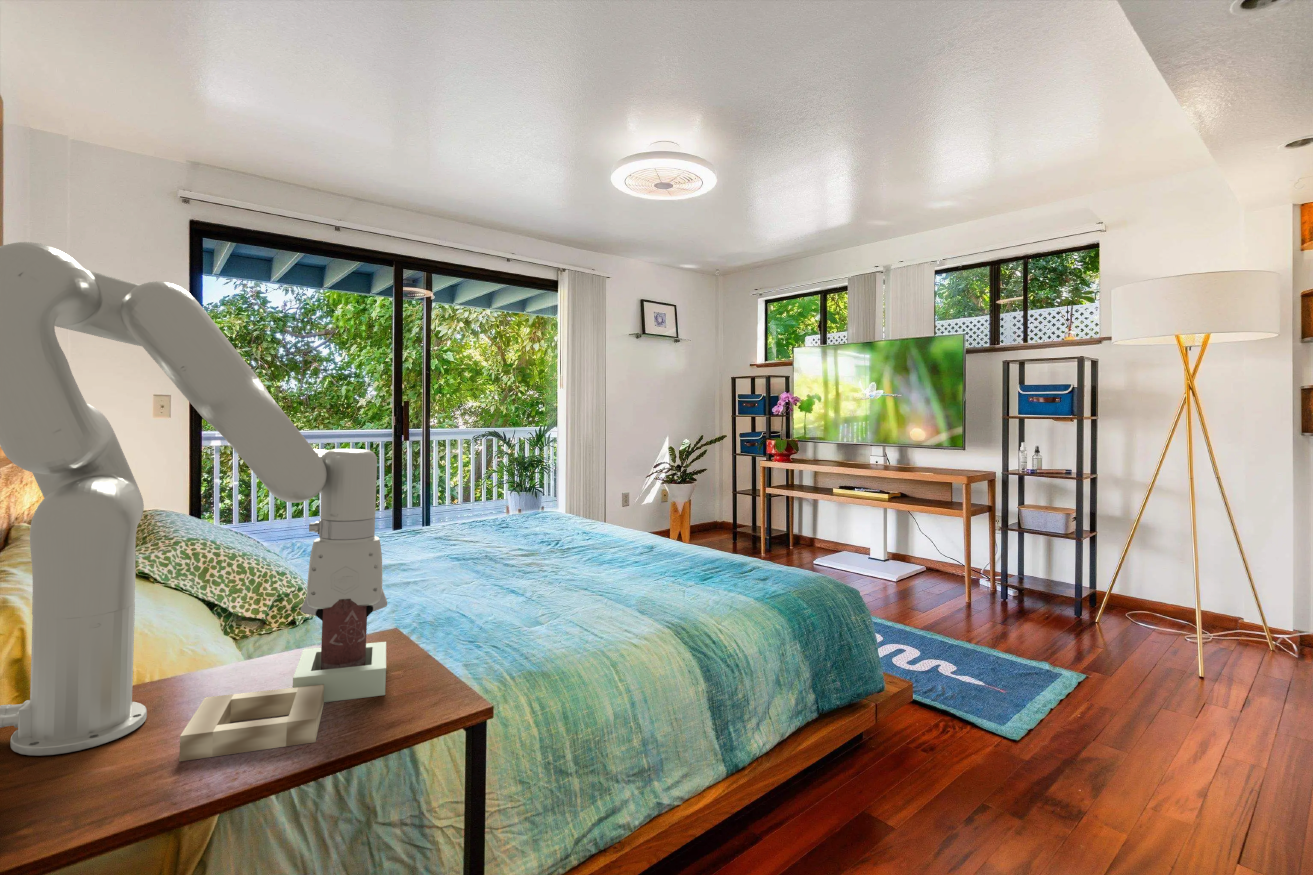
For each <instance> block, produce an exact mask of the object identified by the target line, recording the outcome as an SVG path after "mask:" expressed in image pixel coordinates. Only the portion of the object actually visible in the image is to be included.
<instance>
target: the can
mask: <svg viewBox="0 0 1313 875" xmlns="http://www.w3.org/2000/svg"><path fill="white" fill-rule="evenodd" d="M366 611H367V606H358V605H357V604H356V603H355V602H353V601H352V600H351V599H339V601H337V602H336V603H335V604H334V605H333V606H332V607H330V608H326V609H323V621H322V620H321V621H322V622H321V644H320V645H321V646H320V648H321V670H326V669H335V668H345V667H355V666H365V662H366V643H367V634H368V633H367V631H368V629H367V627H368V616H367V617H366V614H367V612H366Z"/></svg>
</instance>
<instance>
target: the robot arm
mask: <svg viewBox="0 0 1313 875" xmlns="http://www.w3.org/2000/svg"><path fill="white" fill-rule="evenodd" d="M55 327H56V328H60V329H66V330H69V331H73V332H78V333H81V334H86V335H91V336H95V337H99V338H103V339H108V340H112V341H115V342H120V343H124V344H128V345H133V346H139V347H142V348H143V349H144V350H145V352H147V355H149V356H150V358H152V360H153V361H154V362H155V363H156V365H158V366H159V368H160V369H161V370H162V371H163V372H164V374H165V375H166V376H167V377H168V378H169V380H171V382H172V383H173V384H174V385H175V387H176V388H177V389H178V390H179V391H180V392H181V394H182V395H183V396H184V398H186V401H188V402H189V403H190V405H192V407H193V408H194V409H195V410H196V411H197V413H198V414H199V415H200V416H201V417H202V419H204V420H205V421H206V423H208V424H209V425H211V426H212V427H213V428H214V429H215V430H216V431H217V432H218V433H219V434H220V435H221V437H222V438H224V439H225V440H226V442H227V443H228V444H229V445H230V447H231V448H232V449H233V451H235V452H236V453H237V455H238V456H239V457H240V458H241V459H242V460H243V462H244V463H245V464H246V465H247V466H248V468H250V470H251V471H252V473H254V475H255V477H257V478H258V480H259V481H260V482H261V483H262V484H263V485H264V487H265V488H266V490H267V491H269V493H270V494H271V495H272V496H274V497H275V498H277V499H279V500H280V501H283V502H286V503H294V504H295V503H297V504H298V503H303V502H306V501H309V500H311V499H313V498H315V497H316V496H317V495H318V494H320V497H321V498H320V519H319V520H317V521H315V522H309V524H308V532H309V533H311V532H312V533H315V534H317V535H319V536H318V538H315V539H314V540H313V543H312V547H311V551H310V556H309V564H308V572H307V573H308V574H307V581H306V582H307V586H306V596H305V598H304V601H303V603H302V605H301V607H300V613H303V614H307V615H311V616H315V617H317V618H318V619H320V620H321V621H323V609H326V608H330V607H332V606H333V605H334V604H335V603H336V602H337V601H339V599H351V600H352V601H353V602H355V603H356V604H357V605H358V606H367V611H366V612H367V614H366V617H367V618H368V617H369V616H370V615H371V614H372V613H373V612H377V611H379V610H381V609H383V608H385V607H387V606H388V599H387V597H386V594H385V592H384V589H383V552H382V545H381V540H380V537H379V536H376V535H375V531H376V530H375V529H376V505H377V504H376V503H377V500H376V499H377V478H378V476H377V475H378V473H377V472H378V458H377V455H376V454H375V452H374V451H372V450H369V449H364V448H362V449H361V448H335V449H334V448H333V449H328V450H327V449H317V448H313V446H312V445H311V444H310V442H308V440H307V439H306V437H305V436H304V435H303V434H302V433H301V432H300V430H299V429H298V428H297V426H296V425H295V424H294V423H293V421H291V419H290V418H289V416H287V414H286V413H285V412H284V411H283V409H282V408H281V407H280V405H279V404H278V403H277V402H276V400H275V399H274V398H273V396H272V395H271V394H270V392H269V391H268V389H267V388H266V386H265V385H264V383H263V382H262V381H261V379H260V378H259V376H258V375H257V374H256V373H255V372H254V370H253V369H252V368H251V367H250V365H248V363H247V362H246V361H245V359H244V358H243V356H242V355H241V354H240V353H239V352H238V350H237V349H236V348H235V346H233V344H232V343H231V342H230V341H229V339H228V338H227V337H226V336H225V334H224V333H223V332H222V331H221V329H220V328H219V327H218V325H217V324H216V323H215V321H214V320H213V319H212V317H210V315H209V314H208V312H207V311H206V309H204V308H203V306H202V305H201V304H200V302H199V301H198V300H197V299H196V297H194V296H193V295H192V294H191V293H190V292H189V291H187V289H185V288H183V287H182V286H180V285H177V284H175V283H171V282H168V281H149V282H144V283H142V284H139V283H135V282H131V281H126V280H123V279H120V278H116V277H112V276H109V275H105V274H102V273H99V272H96V271H92V270H90V269H86V268H84V267H83V266H82V265H81V264H80V263H79V262H78V261H77V260H76V259H74V258H73V257H72V256H70V255H69V254H68V253H65V252H64V251H62V250H60V249H58V248H55V247H53V246H50V245H46V244H43V243H38V242H31V241H30V242H29V241H20V242H18V241H17V242H13V243H7V244H3V245H0V448H1V450H2V452H3V454H4V455H5V457H6V458H7V459H8V460H9V461H11V463H13V465H15V466H16V467H19V468H20V469H22V470H24V471H27V472H29V473H31V474H32V475H33V477H34V479H35V480H34V481H36V483H37V486H38V487H39V490H40V493H42V496H43V499H42V501H41V502H40V503H39V504H38V506H37V507H36V509H35V511H34V514H33V515H32V519H31V522H30V528H29V546H30V547H29V548H30V559H31V570H32V574H31V575H32V597H31V598H32V606H31V608H32V609H31V611H32V612H31V614H32V620H31V621H32V625H31V626H32V628H31V654H30V655H31V659H30V694H29V699H27V700H25V701H24V702H23V703H19V704H1V705H0V729H1V728H5V727H12V726H13V727H14V728H16V730H15V731H14V732H13V734H12V735H11V737H10V749H11V750H12V751H13V752H14V753H17V754H20V755H26V756H40V757H41V756H54V755H61V754H68V753H73V752H78V751H79V752H80V751H82V750H86V749H91V748H95V747H97V746H101V745H105V744H106V743H107V744H108V743H109V742H112V741H115V740H118V739H119V738H122V737H124V736H126V735H128V734H130V733H132V732H134V731H135V730H137V729H138V728H140V727H141V726H142V725H143V724H144V722H146V720H147V718H148V717H147V716H148V709H147V707H146V706H145V705H144V704H142V703H140V702H136V701H133V682H134V679H133V678H134V675H133V674H134V648H135V647H134V646H135V644H134V643H135V621H136V620H135V619H136V618H135V617H136V616H135V615H136V552H137V551H136V546H137V545H136V541H137V530H138V526H139V524H140V522H141V520H142V518H143V514H144V510H145V509H144V508H145V506H144V499H143V495H142V492H141V490H140V489H139V486H138V482H137V481H136V478H135V476H134V474H133V472H132V469H131V468H130V465H129V463H128V460H127V458H126V456H125V453H124V451H123V449H122V446H121V444H120V441H119V439H118V438H117V435H116V433H115V431H114V428H113V426H112V425H111V423H110V421H109V420H108V419H107V417H106V416H105V415H104V414H103V412H101V411H100V410H99V409H98V408H97V407H95V406H93V405H92V404H90V403H87V401H86V400H85V398H84V395H83V394H82V392H81V390H80V388H79V386H78V383H77V382H76V378H75V377H74V374H73V372H72V369H71V367H70V362H69V361H68V358H67V357H66V355H65V352H64V351H63V349H62V346H61V345H60V342H59V340H58V337H57V335H56V331H55V330H56V329H55Z"/></svg>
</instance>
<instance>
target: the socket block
mask: <svg viewBox="0 0 1313 875" xmlns="http://www.w3.org/2000/svg"><path fill="white" fill-rule="evenodd" d="M324 704H325V702H324V684H322V685H313V686H304V687H295V688H293V687H288V688H278V689H270V690H260V691H259V690H258V691H251V692H243V693H242V692H241V693H233V694H223V695H215V696H207V697H204V699H203V700H202V702H201V703H200V705H199V706H198V707H197V710H196V711H195V712H194V713H193V715H192V717H191V718H190V719H189V722H188V723H187V725H186V726H185V728H184V729H183V730H182V732H181V734H180V736H179V755H178V757H179V760H178V761H179V762H185V761H192V760H193V761H194V760H199V759H206V758H214V757H219V756H227V755H233V754H234V755H235V754H242V753H249V752H256V751H264V750H270V749H276V748H284V747H291V746H298V745H305V744H310V743H316V742H317V737H318V733H319V728H320V723H321V718H322V715H323V714H322V713H323V709H324ZM271 717H272V718H271Z"/></svg>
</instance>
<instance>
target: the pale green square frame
mask: <svg viewBox="0 0 1313 875" xmlns="http://www.w3.org/2000/svg"><path fill="white" fill-rule="evenodd" d="M386 677H387V641H377V642H369V643H367V642H366V662H365V666H355V667H345V668H335V669H326V670H321V647H313V648H303V649H302V652H301V654H300V658H299V661H298V663H297V666H296V669H295V671H294V674H293V676H292V688H295V687H304V686H313V685H322V684H324V703H329V702H337V701H346V700H356V699H362V698H372V697H378V696H379V697H380V696H385V695H386V680H387V678H386Z"/></svg>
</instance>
